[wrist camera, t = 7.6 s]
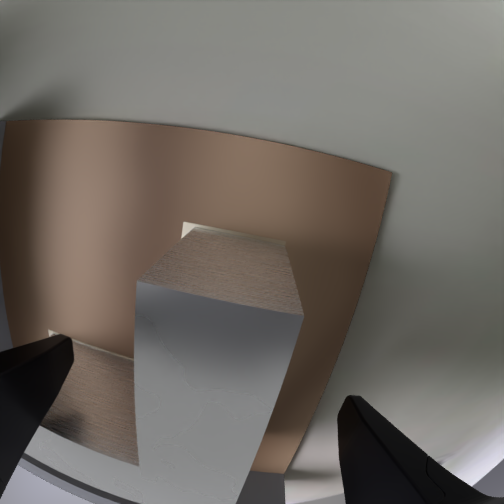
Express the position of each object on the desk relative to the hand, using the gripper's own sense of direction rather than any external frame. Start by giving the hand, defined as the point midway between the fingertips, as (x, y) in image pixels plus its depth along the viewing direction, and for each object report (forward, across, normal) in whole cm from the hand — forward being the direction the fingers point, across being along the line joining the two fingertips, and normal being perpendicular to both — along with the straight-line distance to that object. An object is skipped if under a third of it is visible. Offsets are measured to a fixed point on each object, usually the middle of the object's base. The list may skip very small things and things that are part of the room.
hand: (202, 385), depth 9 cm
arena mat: (+3, +4, +1) cm, 5 cm away
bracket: (+3, +3, 0) cm, 4 cm away
